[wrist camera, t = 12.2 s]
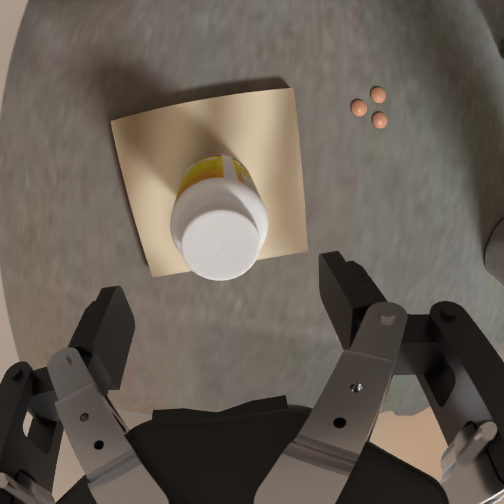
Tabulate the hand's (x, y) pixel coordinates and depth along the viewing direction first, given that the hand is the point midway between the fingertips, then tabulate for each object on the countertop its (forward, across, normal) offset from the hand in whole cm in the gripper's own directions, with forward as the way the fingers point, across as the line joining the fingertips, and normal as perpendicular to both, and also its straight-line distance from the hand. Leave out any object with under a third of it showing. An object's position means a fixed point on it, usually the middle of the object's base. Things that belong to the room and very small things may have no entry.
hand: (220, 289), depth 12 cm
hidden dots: (+15, -14, -5) cm, 21 cm away
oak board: (+15, 0, 0) cm, 15 cm away
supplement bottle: (+14, 0, 0) cm, 14 cm away
